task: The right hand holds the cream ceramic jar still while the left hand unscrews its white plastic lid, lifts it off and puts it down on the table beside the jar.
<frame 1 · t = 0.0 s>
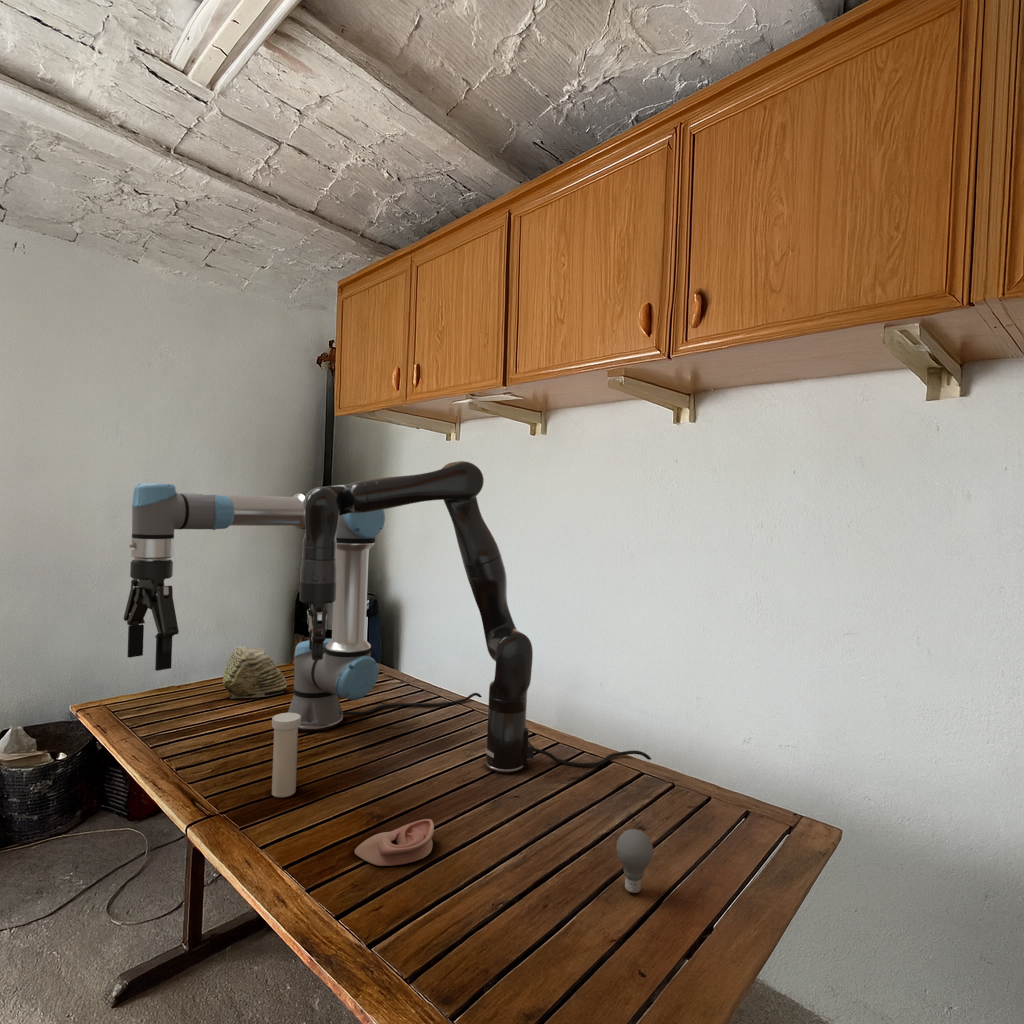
left hand: (148, 662, 129), 28 cm above the table, tool pointing down, fingers open, 13 cm apart
right hand: (315, 654, 136), 29 cm above the table, tool pointing down, fingers open, 8 cm apart
fossil: (254, 694, 198), on the table
lid: (286, 718, 135), point 16 cm above the table, screwed on, not yet turned
light bulb: (632, 891, 106), on the table
anatomical model: (394, 850, 115), on the table
jar: (283, 792, 135), on the table
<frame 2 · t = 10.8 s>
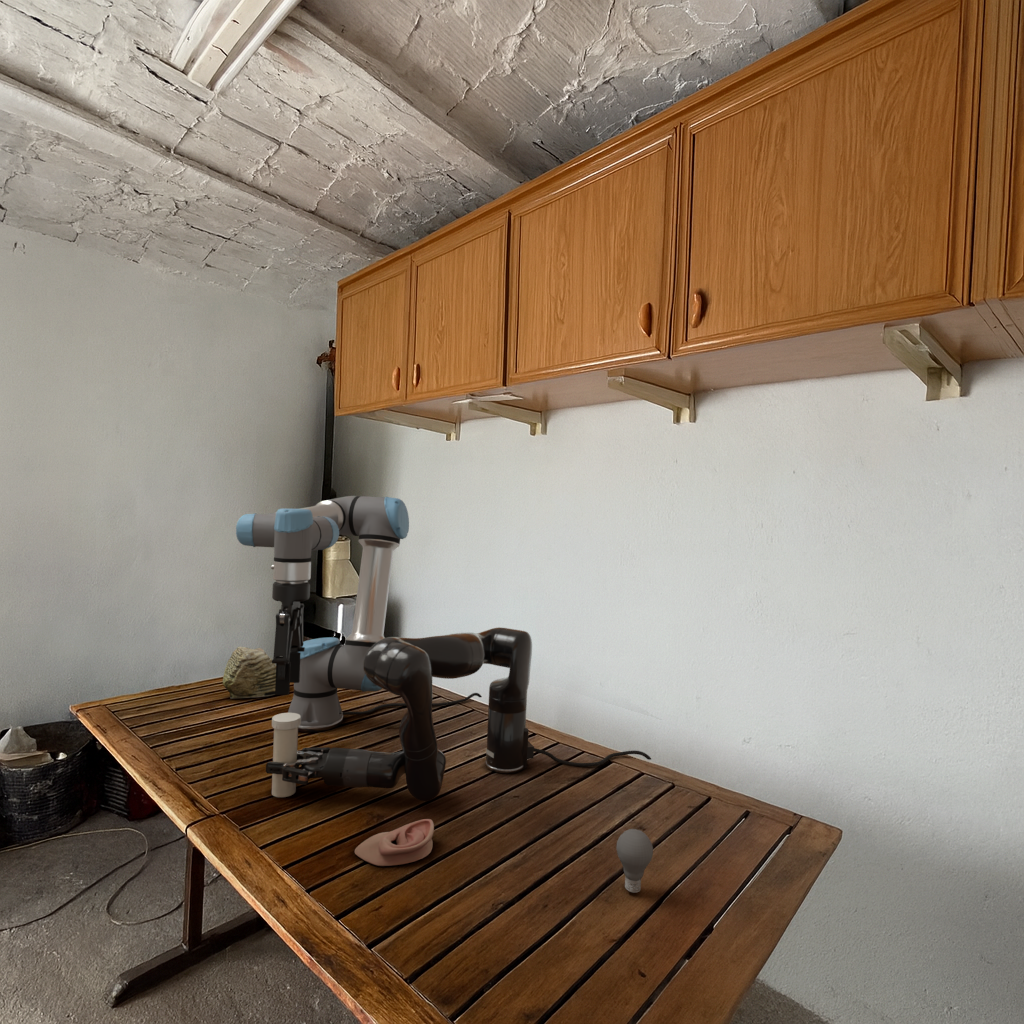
left hand: (287, 687, 135), 22 cm above the table, tool pointing down, fingers open, 8 cm apart
right hand: (272, 762, 135), 6 cm above the table, tool horizontal, fingers closed on jar, 5 cm apart
jar: (283, 792, 135), on the table, touching right hand
everything else where it was.
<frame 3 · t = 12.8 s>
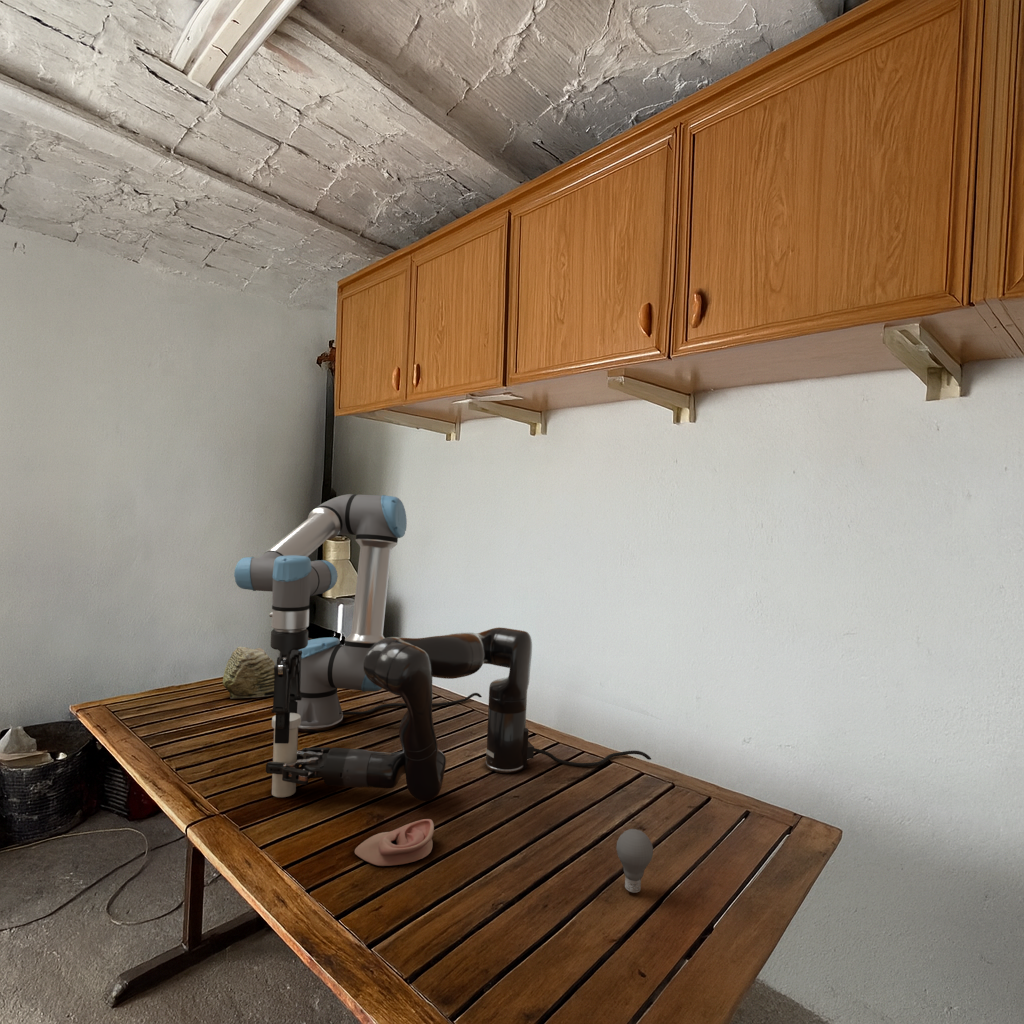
left hand: (285, 736, 135), 12 cm above the table, tool pointing down, fingers closed on lid, 6 cm apart
right hand: (272, 762, 135), 6 cm above the table, tool horizontal, fingers closed on jar, 5 cm apart
lid: (286, 718, 135), point 16 cm above the table, screwed on, not yet turned, touching left hand
jar: (283, 792, 135), on the table, touching right hand
everything else where it was.
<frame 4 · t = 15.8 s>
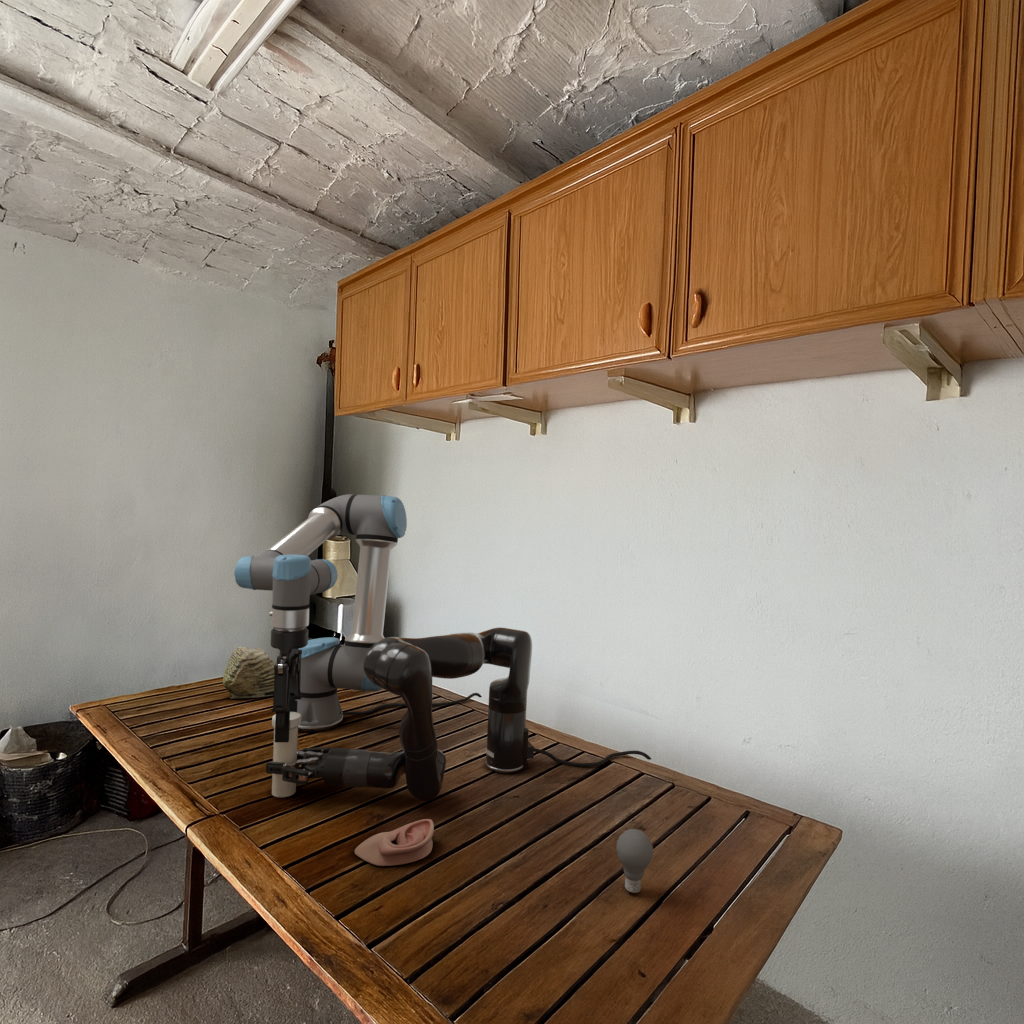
left hand: (285, 735, 135), 12 cm above the table, tool pointing down, fingers closed on lid, 6 cm apart
right hand: (272, 762, 135), 6 cm above the table, tool horizontal, fingers closed on jar, 5 cm apart
lid: (286, 717, 135), point 16 cm above the table, turned 77° so far, risen 0.2 cm, still on its thread, touching left hand
jar: (283, 792, 135), on the table, touching right hand
everything else where it was.
when the left hand's fingers open (0 cm above the table, at t = 21.9 s): lid drops 3 cm, point 1 cm above the table.
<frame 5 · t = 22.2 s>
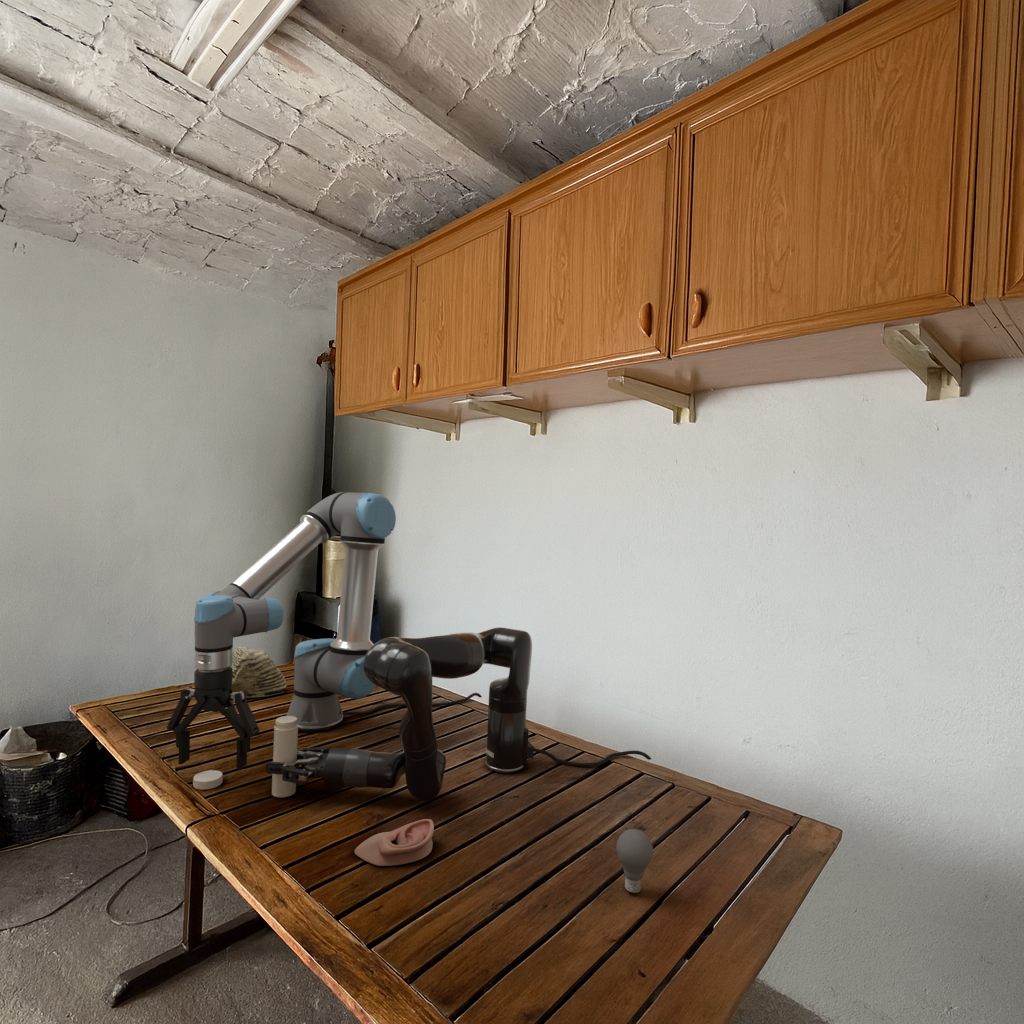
left hand: (212, 764, 138), 4 cm above the table, tool pointing down, fingers open, 13 cm apart
right hand: (272, 762, 135), 6 cm above the table, tool horizontal, fingers closed on jar, 5 cm apart
lid: (208, 777, 137), point 1 cm above the table, off its thread
jar: (283, 792, 135), on the table, touching right hand
everything else where it was.
when the right hand's fingers open (6 cm above the table, at t = 22.6 s): jar stays where it is, on the table.
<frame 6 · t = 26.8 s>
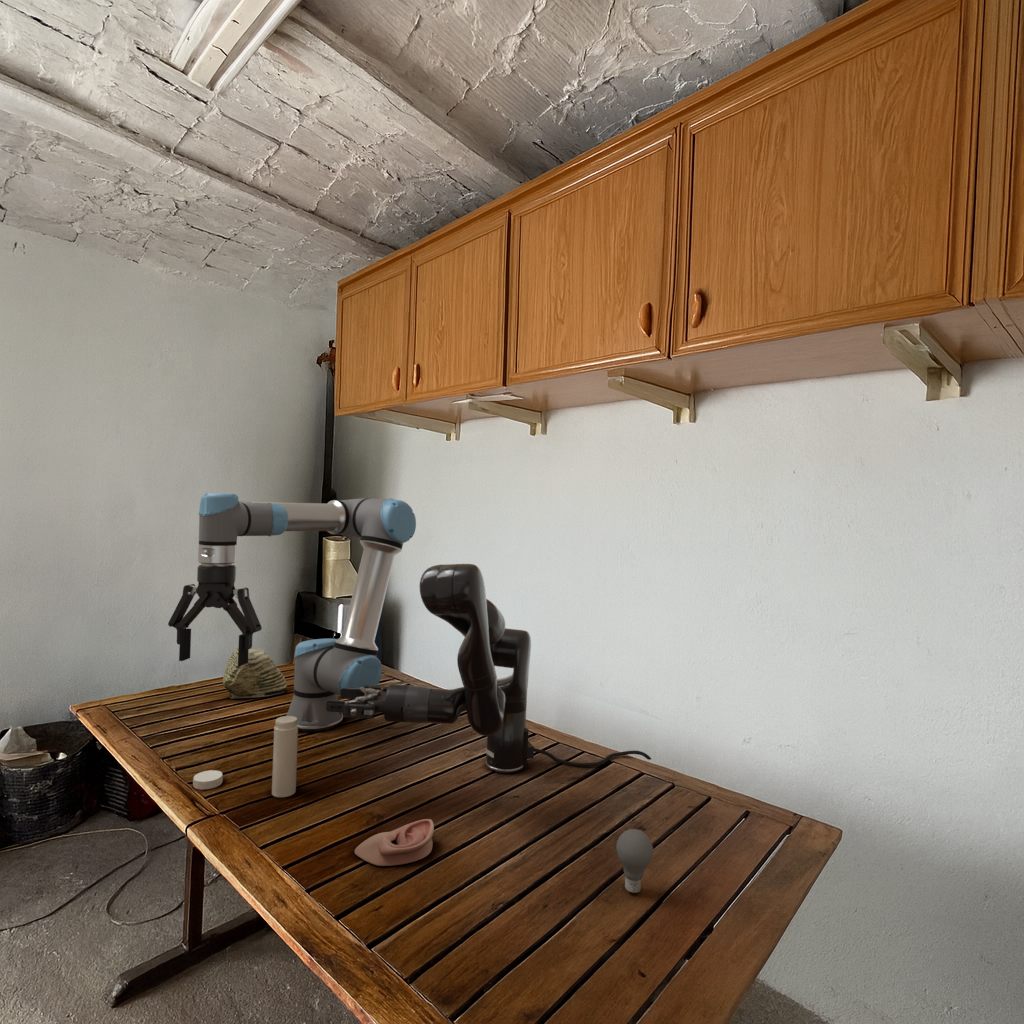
left hand: (213, 662, 137), 26 cm above the table, tool pointing down, fingers open, 13 cm apart
right hand: (334, 699, 134), 21 cm above the table, tool horizontal, fingers open, 8 cm apart
jar: (283, 792, 135), on the table
everything else where it was.
at the end: lid came off its thread; lid point 1.4 cm above the table; the left hand is holding nothing; the right hand is holding nothing; jar tilted 0°; jar moved 0.0 cm from its start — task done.
